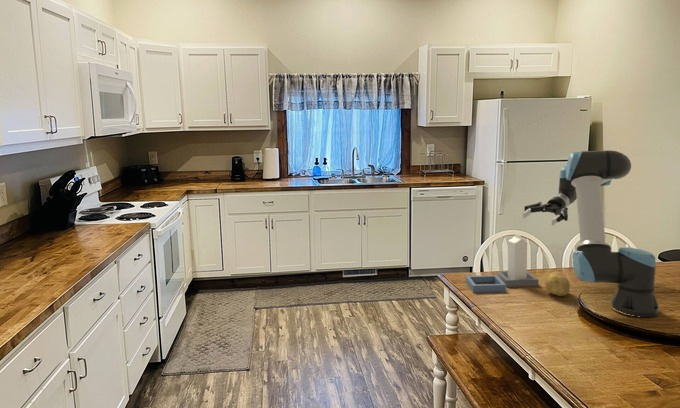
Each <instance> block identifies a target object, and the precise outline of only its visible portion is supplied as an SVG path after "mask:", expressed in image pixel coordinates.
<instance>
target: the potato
mask: <svg viewBox="0 0 680 408" xmlns="http://www.w3.org/2000/svg"><path fill="white" fill-rule="evenodd" d="M544 285H545V289H546V290H547V291H549V293H551V294H552V295H554V296H558V297H562V296H563V297H564V296H567V294H568V293H570V288H571V287H570V286H571V285H570V281H569V279H568V278H567V277H566V276H565V275H564V274H563V273H562V272H560V271H558V270H557V271H556V270H555V271H552V272H551V273H549V274H548V275H547V277H546V279H545V282H544Z"/></svg>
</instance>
